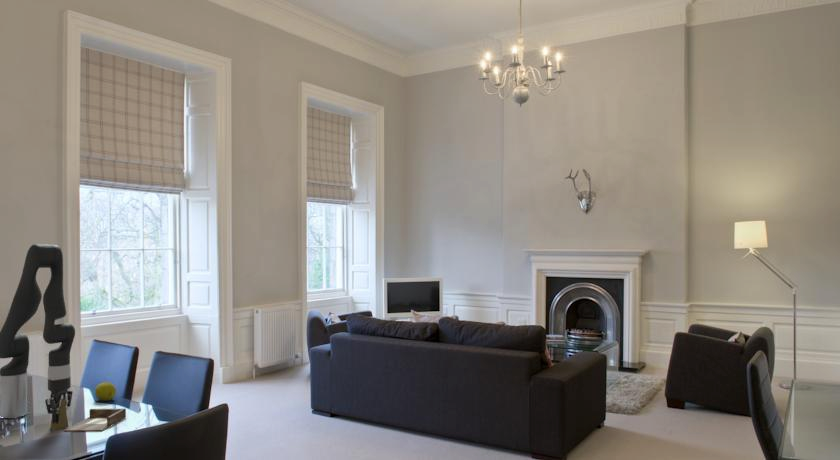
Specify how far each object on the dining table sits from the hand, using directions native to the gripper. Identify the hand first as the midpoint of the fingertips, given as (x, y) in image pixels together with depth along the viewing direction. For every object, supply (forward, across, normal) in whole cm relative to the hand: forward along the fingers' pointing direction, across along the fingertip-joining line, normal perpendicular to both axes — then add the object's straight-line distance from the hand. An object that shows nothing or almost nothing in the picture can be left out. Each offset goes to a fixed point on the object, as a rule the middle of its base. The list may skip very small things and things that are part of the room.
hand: (59, 421), depth 235 cm
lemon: (+3, -39, -3) cm, 39 cm away
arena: (+2, -4, +12) cm, 13 cm away
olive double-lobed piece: (+2, 0, 0) cm, 2 cm away
